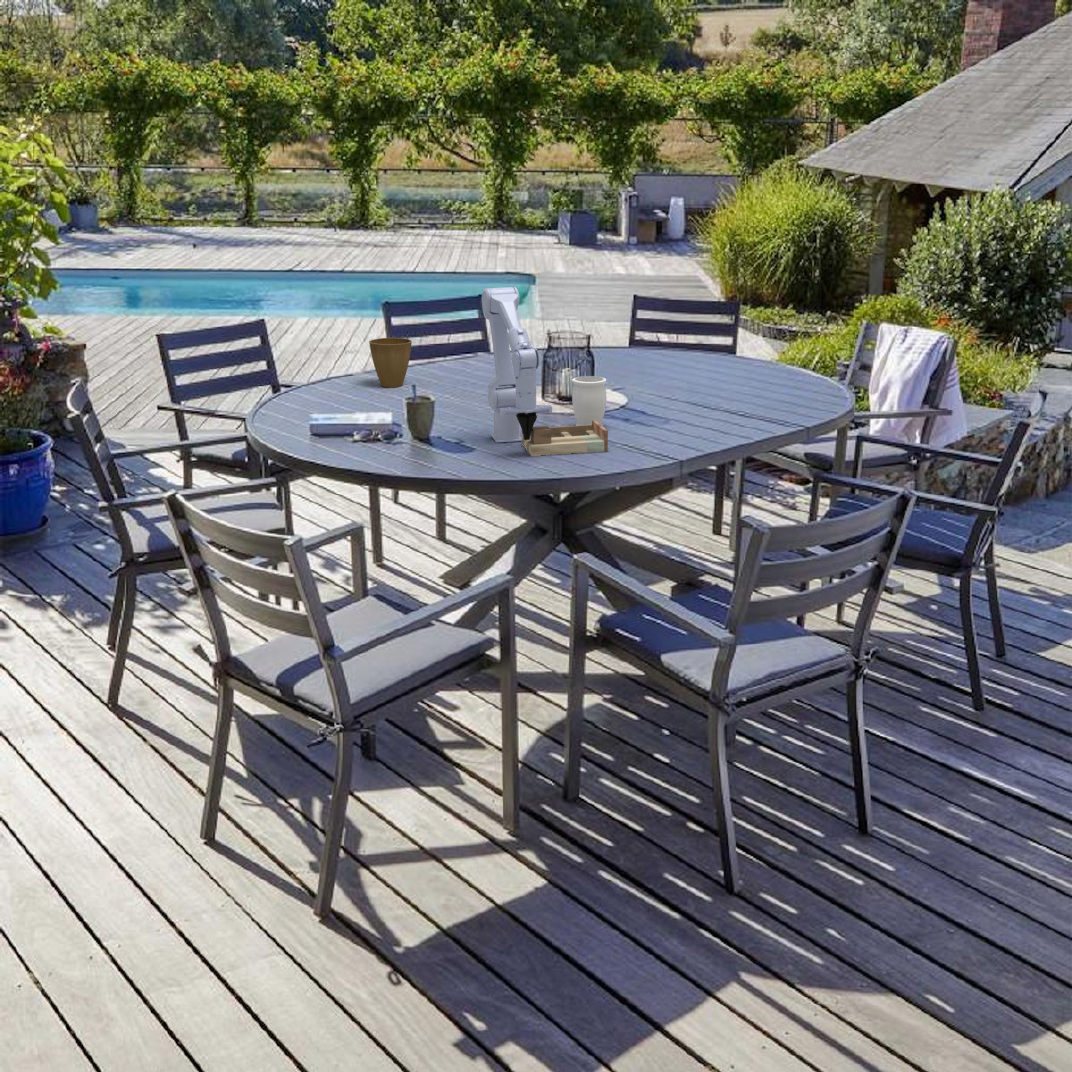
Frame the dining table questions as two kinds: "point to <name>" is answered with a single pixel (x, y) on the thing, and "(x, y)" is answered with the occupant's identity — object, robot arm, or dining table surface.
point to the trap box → (572, 440)
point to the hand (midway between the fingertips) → (526, 439)
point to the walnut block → (540, 435)
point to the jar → (589, 399)
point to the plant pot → (391, 359)
